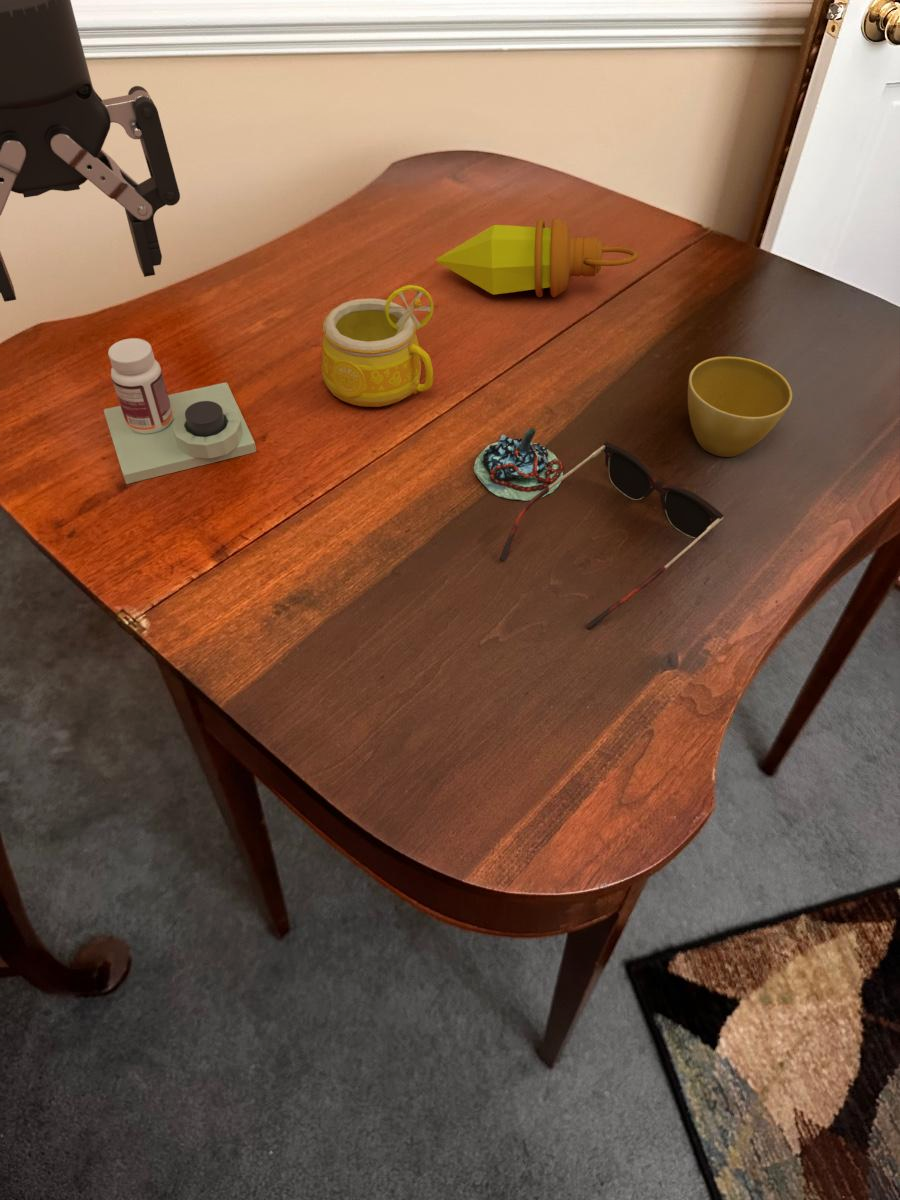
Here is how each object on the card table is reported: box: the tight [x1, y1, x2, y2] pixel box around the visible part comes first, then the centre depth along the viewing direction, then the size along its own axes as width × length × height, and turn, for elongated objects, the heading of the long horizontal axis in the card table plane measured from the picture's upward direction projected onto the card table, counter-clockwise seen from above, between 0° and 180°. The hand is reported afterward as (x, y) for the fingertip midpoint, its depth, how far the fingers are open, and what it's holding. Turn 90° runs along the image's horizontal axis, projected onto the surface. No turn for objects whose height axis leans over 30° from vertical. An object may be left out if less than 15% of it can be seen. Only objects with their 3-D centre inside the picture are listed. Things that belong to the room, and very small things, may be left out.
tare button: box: [185, 401, 225, 437], centre depth 86 cm, size 4×4×2 cm
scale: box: [102, 381, 257, 485], centre depth 88 cm, size 13×12×3 cm
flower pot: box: [687, 356, 793, 458], centre depth 89 cm, size 10×10×7 cm
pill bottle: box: [107, 337, 173, 434], centre depth 86 cm, size 5×5×8 cm
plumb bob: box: [434, 216, 639, 298], centre depth 107 cm, size 9×9×25 cm
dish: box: [473, 427, 564, 502], centre depth 87 cm, size 8×7×8 cm
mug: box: [321, 284, 435, 408], centre depth 91 cm, size 13×11×12 cm
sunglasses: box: [499, 441, 725, 630], centre depth 79 cm, size 14×16×5 cm
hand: (80, 282), depth 56 cm, fingers open, 8 cm apart
